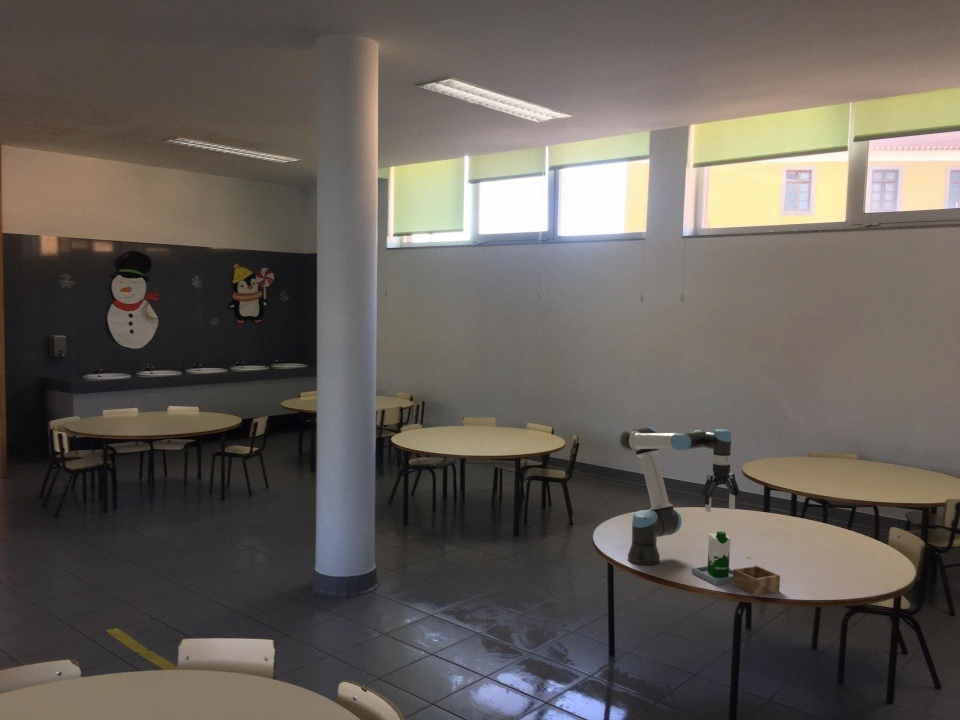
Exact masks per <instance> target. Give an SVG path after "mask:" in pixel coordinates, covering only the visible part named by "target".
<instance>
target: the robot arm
mask: <svg viewBox="0 0 960 720" xmlns="http://www.w3.org/2000/svg"><path fill="white" fill-rule="evenodd" d="M732 439H733V438H732V431H731V430H729V429H727V428H726V429H724V428H717V429H716V428H715V429H714V431H713V432H712V431H707V430H706V431H705V430H702V429H695V430H694V431H692V432H659V431H658V430H657V429H656V428H654V427H651V426H643V427H634V428H628V429H625V430H624V431H622V432H621V434H620V436H619V445H620V447H621V448H622V449H623V450H624V451H626V452H631V453H633V452H634V453H635V455H636V457H638V458H639V459H640V463H641V467H642V471H643V476H644V480H645V483H646V484H645V485H646V488H647V492H648V495H649V499H650V505H651V506H650V508H649V509H644V510H643V509H642V510H638V511H636V512H634V513H633V515H632V521H631V525H632V526H631V527H632V528H631V545H630V547H629V551H628V553H627V561H629V562H630V563H633V564H635V565H640V566H642V565H643V566H655V565H659V563H660V562H661V561H660V558H661V556H660V554H659V549H658V547H657V540H658V539H657V538H660V537H663V536H664V537H666V536H670V535H673V534H676V533H677V532H679V530H680V528H681V527H682V516H681V514H680V513H679V512H678V511H677V510H676V509H674V506H673V504H672V503H670V501H669V498H668V494H667V490H666V485H665V481H664V476H663V473H662V469H661V465H660V461H659V458H658V457H659V456H658V454H659V453H660V450H677V451H688V450H694V449H704V448H705V449H711V450H713V451H712V463H713V464H712V472H713V475H710V474H707V475H706V476H707V478H706V481H705V484H704V486H703V488H702V491H701V493H700V495H701V496H703V497H704V505H705V512H707V513H711V512H712V497H711V496H712V494H713V493H714V491H715V490H716V489H717V487H719V486H721V485H725V486H726V488H727V489H728V491H729V492H730V493H729V496H728V497H729V499H728V509H731V510H733V511H734V510H736V509H735V507H736V506H735V505H736V504H735V503H736V501H737V496H738V495H739V494H740V489H739V485H738V482H737V480H736V475H735V473H731V465H730V464H731V456H732V455H731V451H732Z"/></svg>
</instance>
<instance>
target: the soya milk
mask: <svg viewBox="0 0 960 720" xmlns="http://www.w3.org/2000/svg"><path fill="white" fill-rule="evenodd" d="M707 536H708V537H707V538H708V539H707V541H708V549H707V550H708V551H707V566H708V573H709V574H710V575H711V576H712V577H729V568H730V557H731V555H730V553H731V550H730V549H731V540H732V539H731V537H729V536H728V535H727V533H726V532H725V531H716V533H707Z"/></svg>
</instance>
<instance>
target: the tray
mask: <svg viewBox="0 0 960 720" xmlns="http://www.w3.org/2000/svg"><path fill="white" fill-rule="evenodd" d="M691 574H693V575H694V576H695V577H696V576H697V577H698V578H701V579H702V578H703V580H704V579H705V580H704V581H706V580H707V582H708V581H709V583H710V584H713V585H714V586H720V585H727V584H733V569H732V568H730V567H729V577H712V576H711V575H710V574H709V573H708V565H703V566H702V565H701V566H697V567H691Z"/></svg>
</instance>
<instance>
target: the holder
mask: <svg viewBox="0 0 960 720" xmlns="http://www.w3.org/2000/svg"><path fill="white" fill-rule="evenodd" d="M732 570H733V583H732V586H734V587H735V588H738V589H741V590H742V591H744V592H746V593H749V594H750V595H753V596H755V597H756V596H762V595H767V594H774V593H778V592H780V584H781V583H780V582H781V575H779V574H777V573H774V572H773V571H770V570H768V569H766V568H763V567H761V566H758V565H753V566H746V567H740V568H733V569H732Z"/></svg>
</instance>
